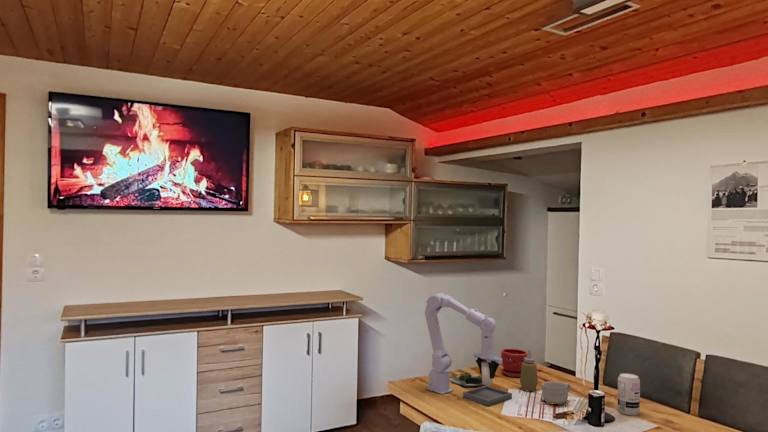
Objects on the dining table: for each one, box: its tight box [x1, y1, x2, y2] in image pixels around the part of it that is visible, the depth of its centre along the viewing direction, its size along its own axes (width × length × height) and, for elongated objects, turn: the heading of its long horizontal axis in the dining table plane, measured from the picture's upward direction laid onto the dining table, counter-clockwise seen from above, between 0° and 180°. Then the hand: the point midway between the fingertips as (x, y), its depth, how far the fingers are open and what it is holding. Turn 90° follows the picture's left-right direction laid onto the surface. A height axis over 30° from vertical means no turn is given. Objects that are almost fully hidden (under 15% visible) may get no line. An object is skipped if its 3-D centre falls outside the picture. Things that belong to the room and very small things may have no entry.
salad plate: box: [450, 371, 486, 389], centre depth 258 cm, size 19×18×5 cm
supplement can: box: [617, 373, 641, 417], centre depth 218 cm, size 8×8×15 cm
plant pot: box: [500, 348, 528, 378], centre depth 271 cm, size 13×13×12 cm
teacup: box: [541, 381, 572, 406], centre depth 230 cm, size 14×11×8 cm
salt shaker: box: [481, 360, 494, 386], centre depth 233 cm, size 5×5×9 cm
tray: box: [462, 385, 513, 407], centre depth 233 cm, size 14×16×2 cm
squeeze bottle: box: [519, 349, 539, 392], centre depth 247 cm, size 8×8×18 cm
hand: (487, 376), depth 234 cm, fingers closed on salt shaker, 5 cm apart
